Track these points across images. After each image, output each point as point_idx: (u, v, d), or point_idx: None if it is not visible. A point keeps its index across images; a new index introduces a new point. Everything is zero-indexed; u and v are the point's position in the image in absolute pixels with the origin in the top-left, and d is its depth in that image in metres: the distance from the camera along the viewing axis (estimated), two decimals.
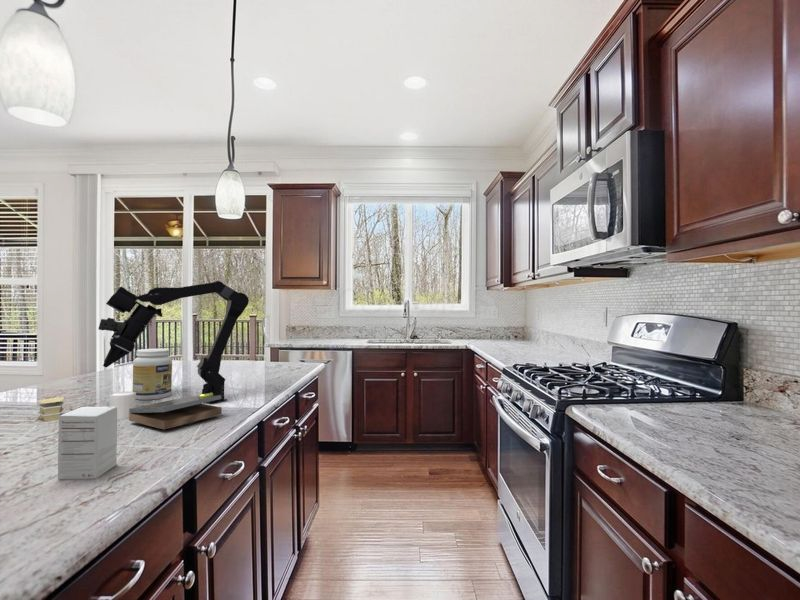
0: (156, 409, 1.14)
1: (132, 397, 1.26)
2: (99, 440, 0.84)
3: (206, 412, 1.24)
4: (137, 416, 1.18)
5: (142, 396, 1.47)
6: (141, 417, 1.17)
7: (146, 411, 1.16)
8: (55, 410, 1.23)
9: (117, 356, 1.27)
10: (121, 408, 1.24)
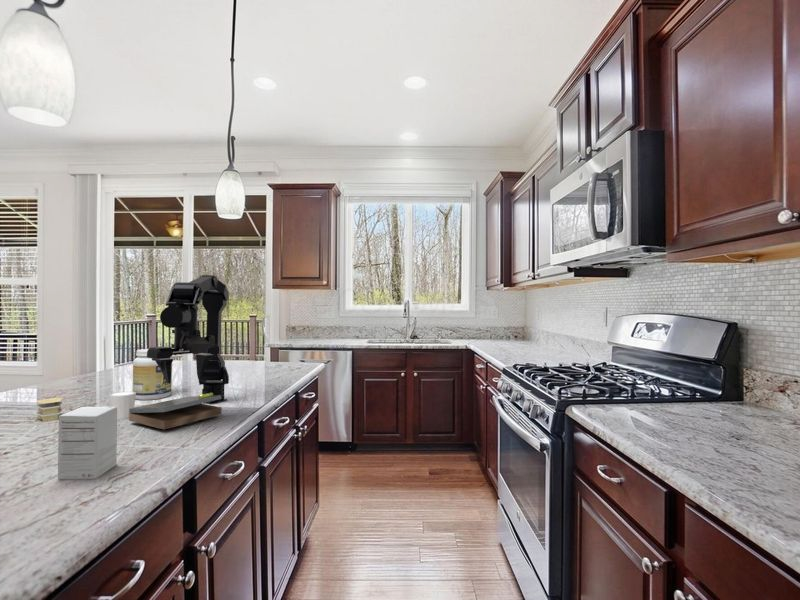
0: (156, 409, 1.14)
1: (132, 397, 1.26)
2: (99, 441, 0.84)
3: (206, 412, 1.24)
4: (137, 416, 1.18)
5: (142, 396, 1.47)
6: (141, 417, 1.17)
7: (146, 411, 1.16)
8: (54, 410, 1.23)
9: None
10: (121, 408, 1.24)
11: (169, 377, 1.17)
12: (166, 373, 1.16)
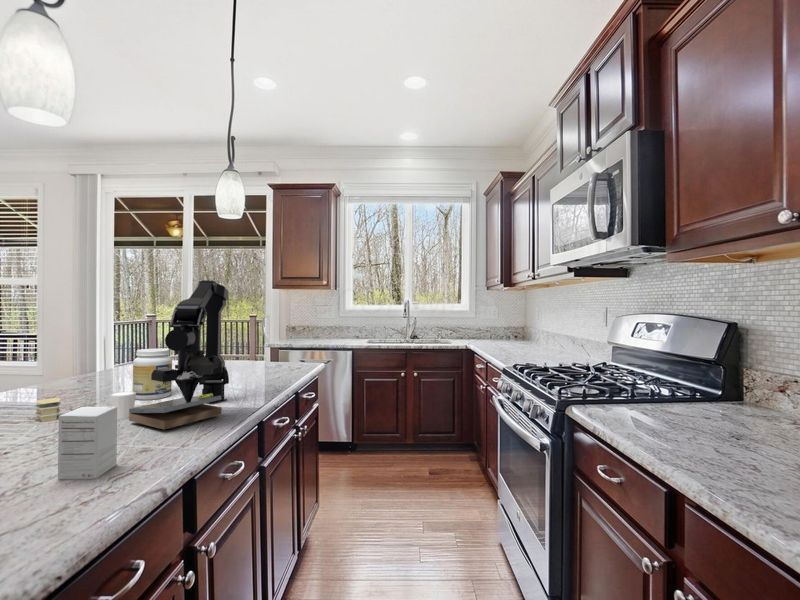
0: (156, 410, 1.14)
1: (132, 397, 1.26)
2: (99, 441, 0.84)
3: (206, 412, 1.24)
4: (137, 416, 1.18)
5: (142, 396, 1.47)
6: (141, 417, 1.17)
7: (146, 411, 1.16)
8: (52, 411, 1.22)
9: None
10: (121, 408, 1.24)
11: (188, 396, 1.21)
12: (185, 392, 1.20)
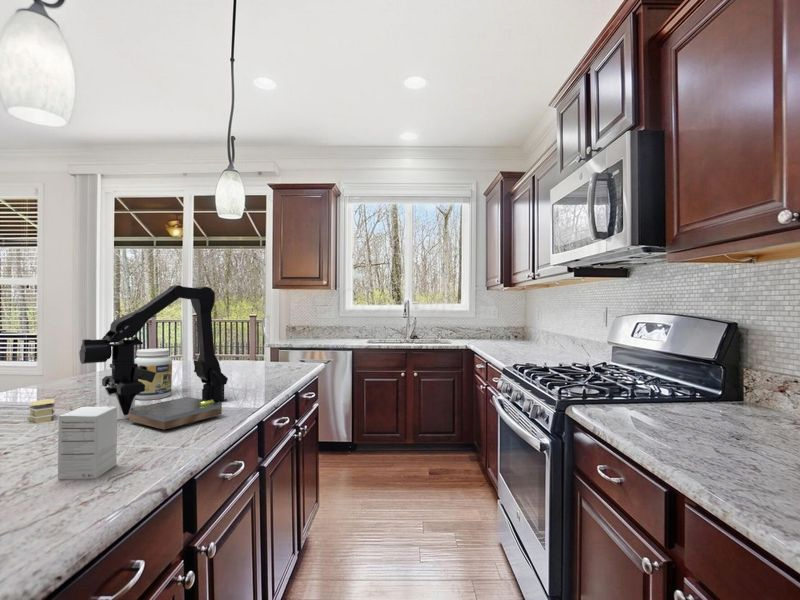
0: (156, 417, 1.14)
1: None
2: (99, 441, 0.84)
3: (206, 412, 1.24)
4: (137, 416, 1.18)
5: (142, 396, 1.47)
6: (141, 417, 1.17)
7: (146, 416, 1.16)
8: (47, 412, 1.21)
9: None
10: None
11: None
12: (129, 405, 1.25)
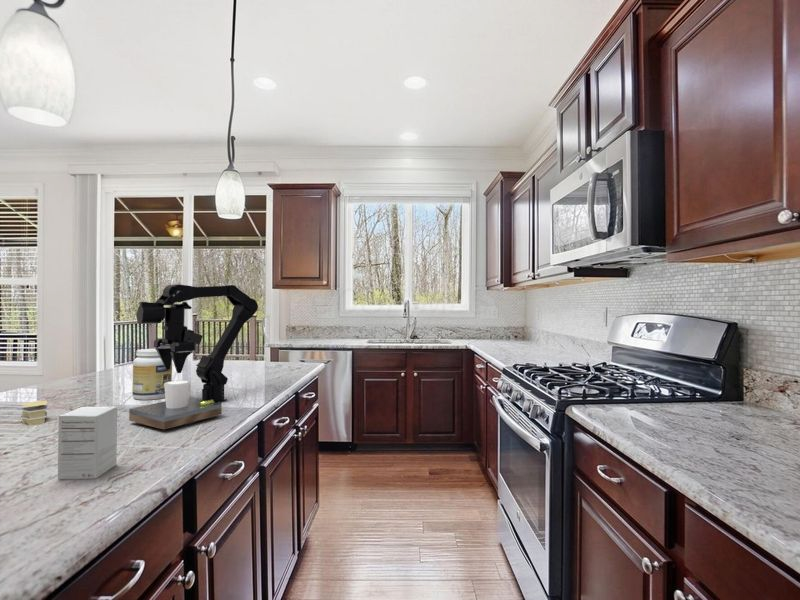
0: (156, 417, 1.14)
1: (189, 385, 1.24)
2: (99, 440, 0.84)
3: (206, 412, 1.24)
4: (137, 416, 1.18)
5: (142, 396, 1.47)
6: (141, 417, 1.17)
7: (146, 416, 1.16)
8: (40, 413, 1.19)
9: None
10: (179, 396, 1.22)
11: None
12: (182, 364, 1.34)
